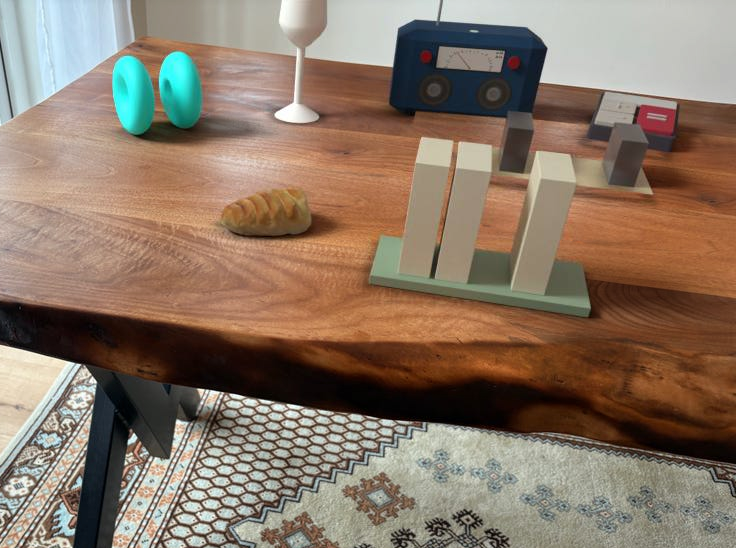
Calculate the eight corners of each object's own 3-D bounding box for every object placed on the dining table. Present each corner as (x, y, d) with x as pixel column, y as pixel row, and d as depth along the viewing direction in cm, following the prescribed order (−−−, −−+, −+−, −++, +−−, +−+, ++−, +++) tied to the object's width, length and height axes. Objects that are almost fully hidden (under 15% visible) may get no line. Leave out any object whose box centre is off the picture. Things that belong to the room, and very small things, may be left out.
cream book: (540, 261, 76) (570, 154, 70) (544, 296, 71) (577, 182, 64) (509, 257, 77) (536, 150, 70) (510, 291, 71) (540, 177, 65)
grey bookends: (638, 172, 100) (655, 122, 96) (650, 202, 92) (669, 149, 88) (481, 153, 104) (491, 105, 100) (480, 180, 96) (491, 129, 92)
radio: (388, 116, 115) (408, -32, 104) (388, 99, 123) (407, -41, 111) (530, 127, 113) (567, -22, 102) (522, 110, 120) (555, -32, 109)
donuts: (205, 136, 105) (205, 60, 100) (136, 145, 101) (132, 67, 96) (178, 115, 113) (176, 43, 107) (112, 123, 109) (107, 48, 103)
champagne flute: (295, 105, 118) (306, -73, 104) (328, 116, 114) (345, -67, 100) (265, 114, 114) (272, -70, 100) (298, 126, 110) (311, -64, 96)
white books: (579, 272, 77) (616, 155, 70) (588, 317, 70) (629, 193, 63) (379, 243, 80) (396, 130, 74) (368, 284, 73) (385, 162, 66)
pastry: (232, 244, 79) (233, 210, 77) (211, 218, 84) (211, 185, 82) (315, 233, 82) (318, 199, 80) (290, 208, 87) (292, 176, 85)
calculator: (591, 119, 106) (603, 86, 117) (582, 148, 108) (595, 114, 119) (677, 132, 102) (682, 98, 113) (666, 163, 105) (672, 127, 116)
